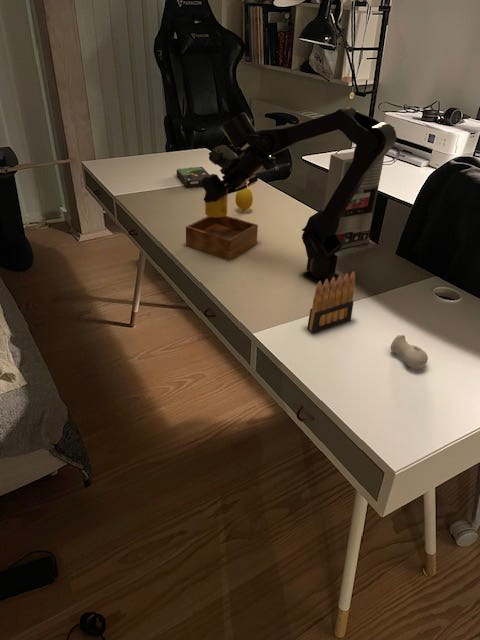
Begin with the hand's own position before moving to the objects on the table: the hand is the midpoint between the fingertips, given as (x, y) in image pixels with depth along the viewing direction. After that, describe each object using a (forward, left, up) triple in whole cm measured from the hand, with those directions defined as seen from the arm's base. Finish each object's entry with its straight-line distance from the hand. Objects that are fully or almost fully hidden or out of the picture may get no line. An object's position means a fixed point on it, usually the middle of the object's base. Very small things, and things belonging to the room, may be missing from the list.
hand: (212, 197), depth 136 cm
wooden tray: (-4, 0, -12) cm, 13 cm away
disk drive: (+43, -30, -13) cm, 54 cm away
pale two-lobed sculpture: (-67, +7, -13) cm, 68 cm away
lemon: (+10, -23, -13) cm, 28 cm away
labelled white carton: (-26, -28, -13) cm, 40 cm away
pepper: (-1, 0, -4) cm, 4 cm away
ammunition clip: (-49, +9, -13) cm, 51 cm away
